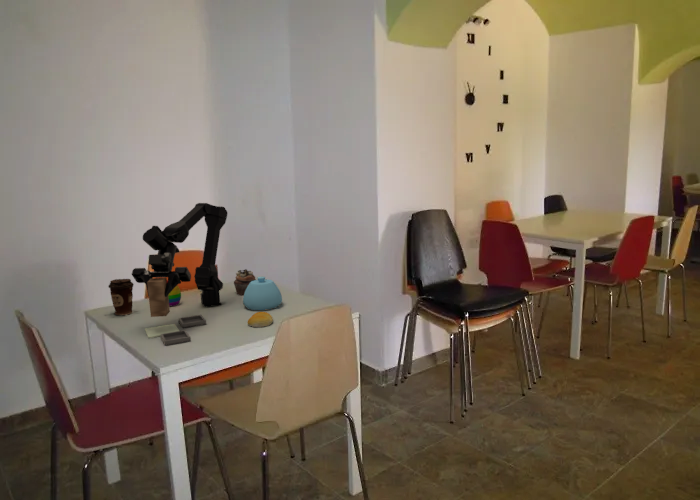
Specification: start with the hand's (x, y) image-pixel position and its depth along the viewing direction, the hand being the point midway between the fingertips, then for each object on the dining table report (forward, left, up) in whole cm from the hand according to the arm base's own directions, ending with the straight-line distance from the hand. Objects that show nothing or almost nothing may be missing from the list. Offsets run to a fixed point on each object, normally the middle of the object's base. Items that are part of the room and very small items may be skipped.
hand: (157, 296), depth 188 cm
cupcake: (-40, -36, -13) cm, 55 cm away
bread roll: (-32, +8, -13) cm, 36 cm away
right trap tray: (-11, -5, -13) cm, 18 cm away
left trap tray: (-3, +10, -13) cm, 16 cm away
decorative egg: (-9, -35, -13) cm, 38 cm away
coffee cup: (+9, -32, -13) cm, 35 cm away
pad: (-1, -1, -13) cm, 13 cm away
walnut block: (-1, -1, -7) cm, 7 cm away
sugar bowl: (-40, -13, -13) cm, 44 cm away
